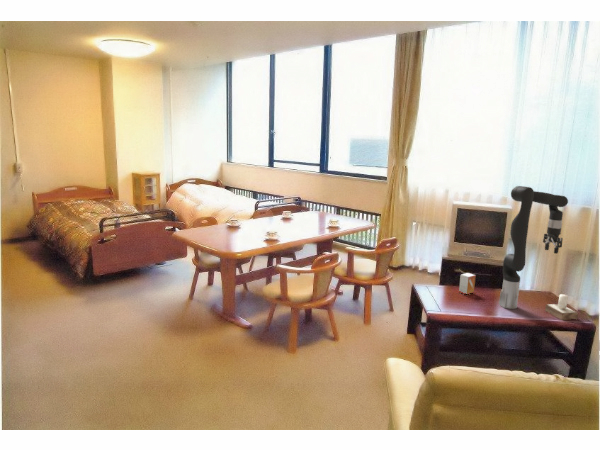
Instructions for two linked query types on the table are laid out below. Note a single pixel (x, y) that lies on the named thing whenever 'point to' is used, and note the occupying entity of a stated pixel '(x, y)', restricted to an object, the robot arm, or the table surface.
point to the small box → (467, 283)
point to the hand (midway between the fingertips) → (551, 251)
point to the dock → (561, 312)
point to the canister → (562, 301)
